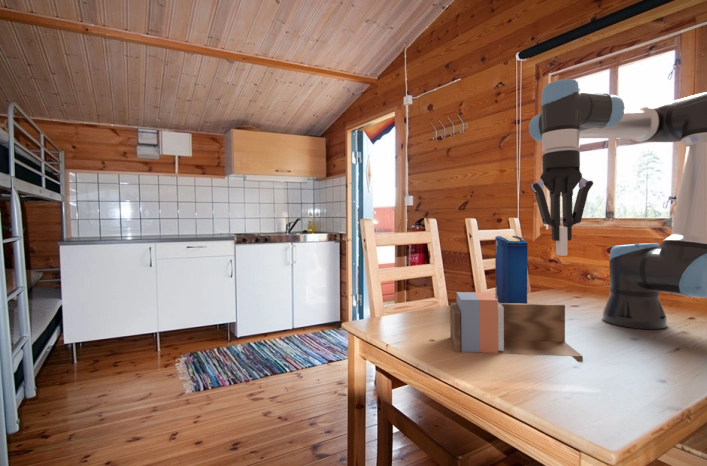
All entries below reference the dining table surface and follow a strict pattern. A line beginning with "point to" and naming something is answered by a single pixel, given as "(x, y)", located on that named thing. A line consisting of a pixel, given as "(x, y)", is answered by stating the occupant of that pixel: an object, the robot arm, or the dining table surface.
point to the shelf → (526, 330)
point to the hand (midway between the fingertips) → (561, 254)
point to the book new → (488, 322)
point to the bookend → (500, 327)
